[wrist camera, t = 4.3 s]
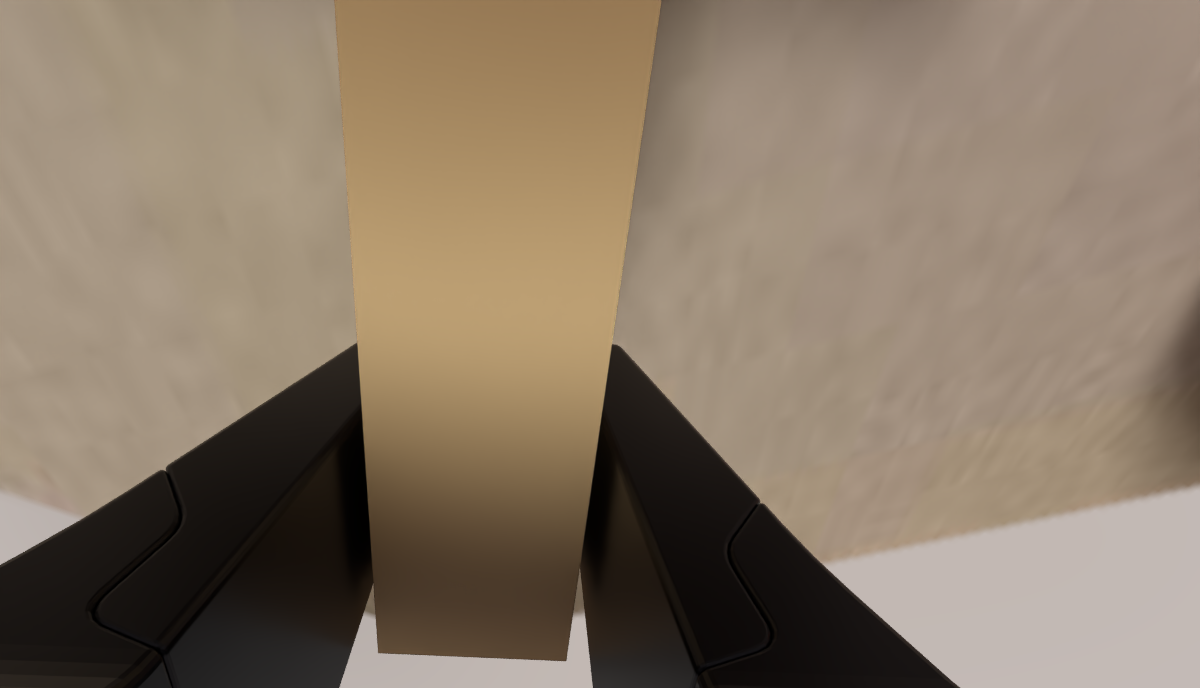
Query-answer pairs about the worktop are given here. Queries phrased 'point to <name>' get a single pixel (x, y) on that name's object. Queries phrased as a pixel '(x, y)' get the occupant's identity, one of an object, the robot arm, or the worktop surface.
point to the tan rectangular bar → (486, 299)
